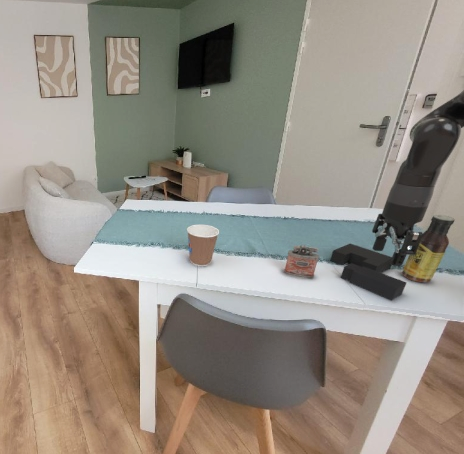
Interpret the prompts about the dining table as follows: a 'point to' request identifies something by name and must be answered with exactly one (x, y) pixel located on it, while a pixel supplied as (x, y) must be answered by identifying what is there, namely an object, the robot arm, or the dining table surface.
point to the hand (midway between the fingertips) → (385, 257)
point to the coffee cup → (201, 243)
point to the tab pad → (373, 281)
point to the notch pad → (361, 257)
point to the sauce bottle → (429, 250)
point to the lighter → (301, 262)
